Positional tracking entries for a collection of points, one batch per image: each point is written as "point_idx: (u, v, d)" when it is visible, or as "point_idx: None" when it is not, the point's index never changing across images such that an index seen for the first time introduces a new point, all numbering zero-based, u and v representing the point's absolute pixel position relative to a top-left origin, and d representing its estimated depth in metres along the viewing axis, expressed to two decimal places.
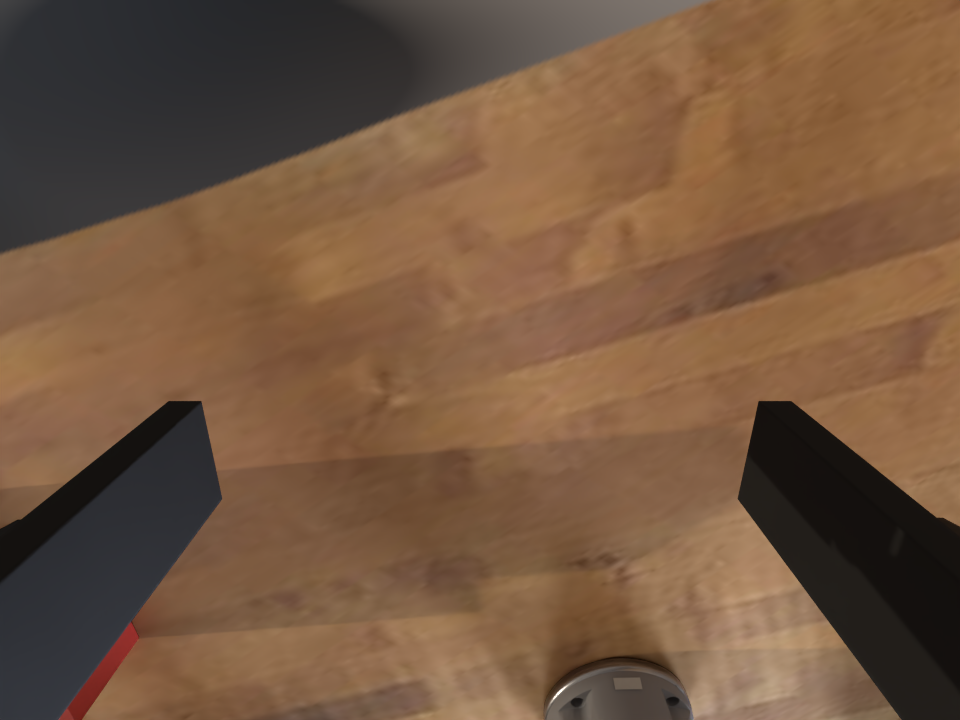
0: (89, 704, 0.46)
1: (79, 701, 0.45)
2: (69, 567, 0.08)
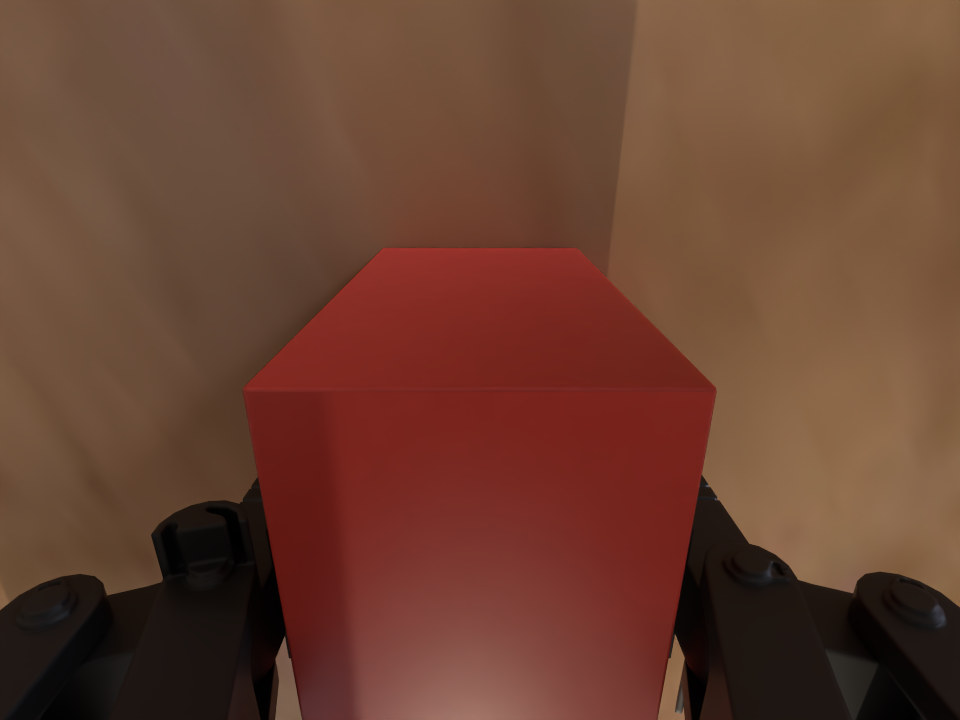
0: (646, 338, 0.07)
1: (563, 352, 0.07)
2: None
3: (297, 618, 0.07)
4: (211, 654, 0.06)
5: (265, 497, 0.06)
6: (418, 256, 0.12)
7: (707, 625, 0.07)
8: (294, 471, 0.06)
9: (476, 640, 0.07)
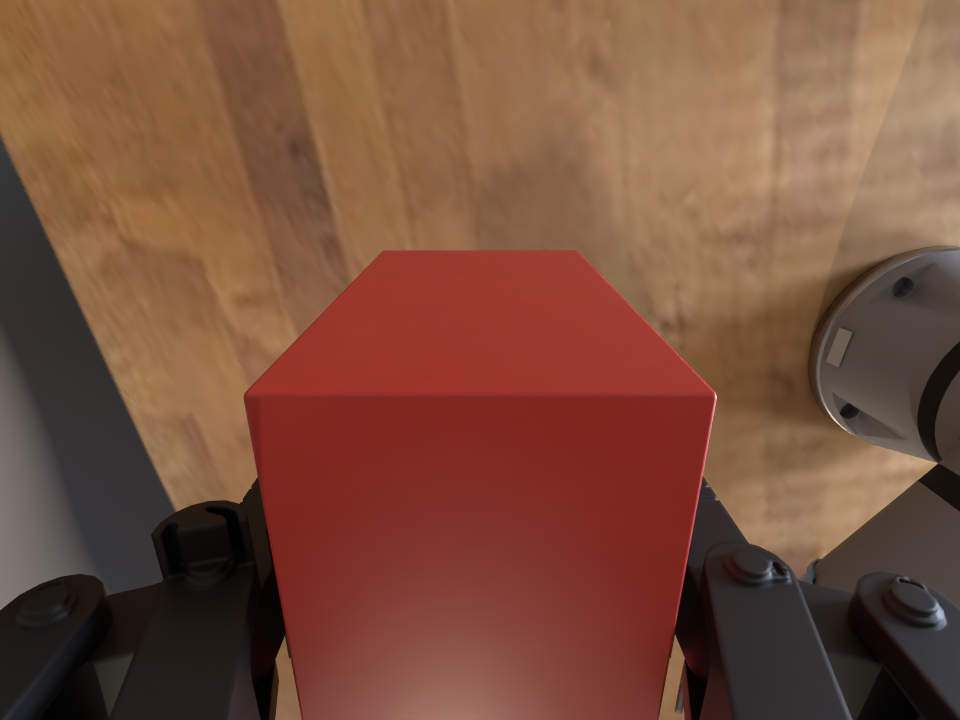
0: (647, 343, 0.07)
1: (563, 357, 0.07)
2: None
3: (298, 623, 0.07)
4: (211, 654, 0.06)
5: (265, 502, 0.06)
6: (418, 259, 0.13)
7: (707, 625, 0.07)
8: (295, 477, 0.06)
9: (476, 645, 0.07)
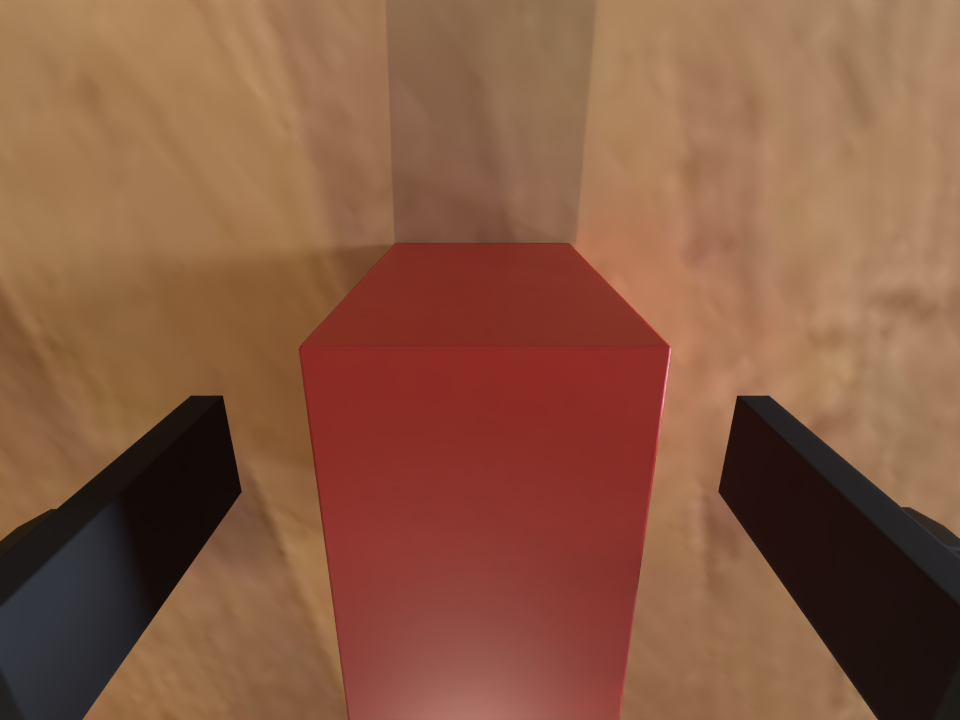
0: (621, 313, 0.09)
1: (552, 323, 0.08)
2: (104, 554, 0.09)
3: (336, 540, 0.08)
4: None
5: (312, 438, 0.08)
6: (427, 250, 0.14)
7: None
8: (337, 415, 0.07)
9: (481, 560, 0.08)
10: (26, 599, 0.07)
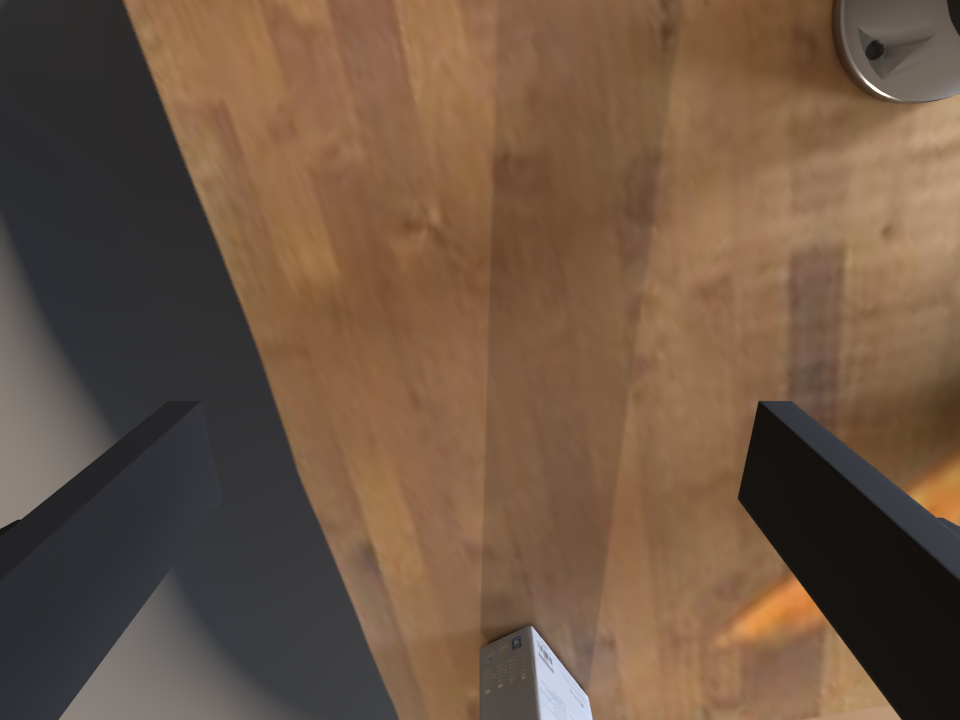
0: None
1: None
2: (69, 567, 0.08)
3: None
4: None
5: None
6: None
7: None
8: None
9: None
10: None
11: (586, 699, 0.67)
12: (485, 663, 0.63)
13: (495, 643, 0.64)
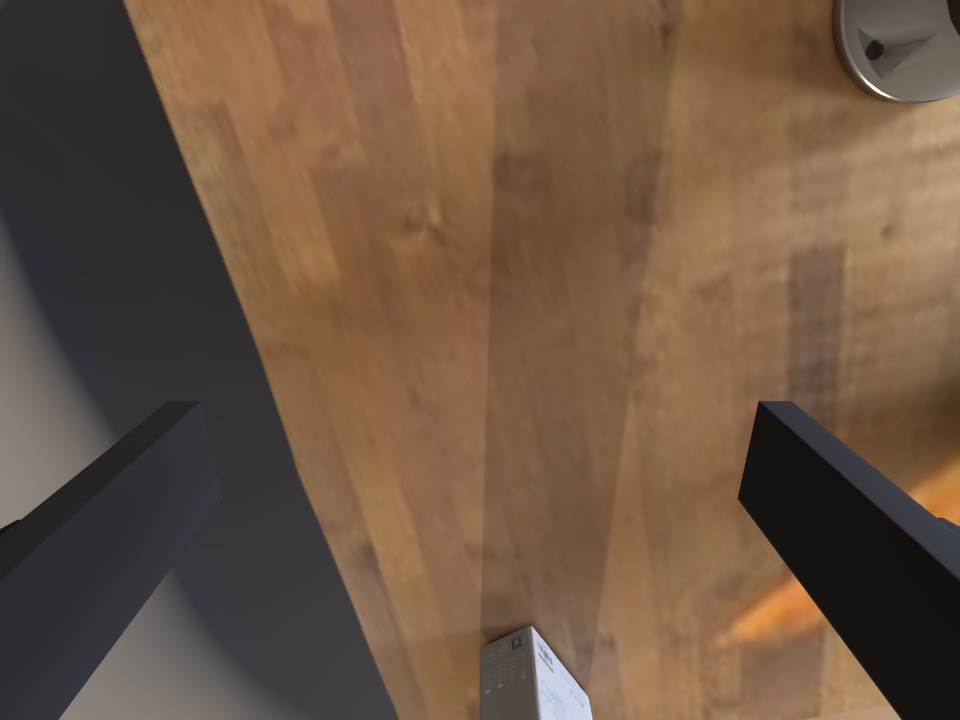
0: None
1: None
2: (69, 567, 0.08)
3: None
4: None
5: None
6: None
7: None
8: None
9: None
10: None
11: (586, 699, 0.67)
12: (485, 663, 0.63)
13: (495, 643, 0.64)
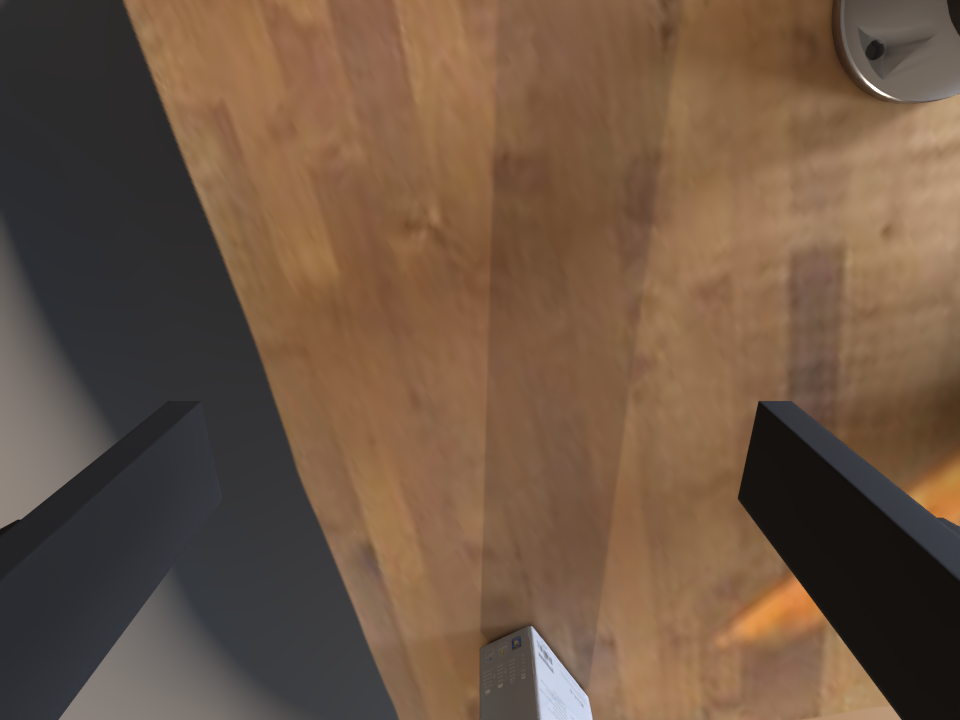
0: None
1: None
2: (69, 567, 0.08)
3: None
4: None
5: None
6: None
7: None
8: None
9: None
10: None
11: (586, 699, 0.67)
12: (485, 663, 0.63)
13: (495, 643, 0.64)
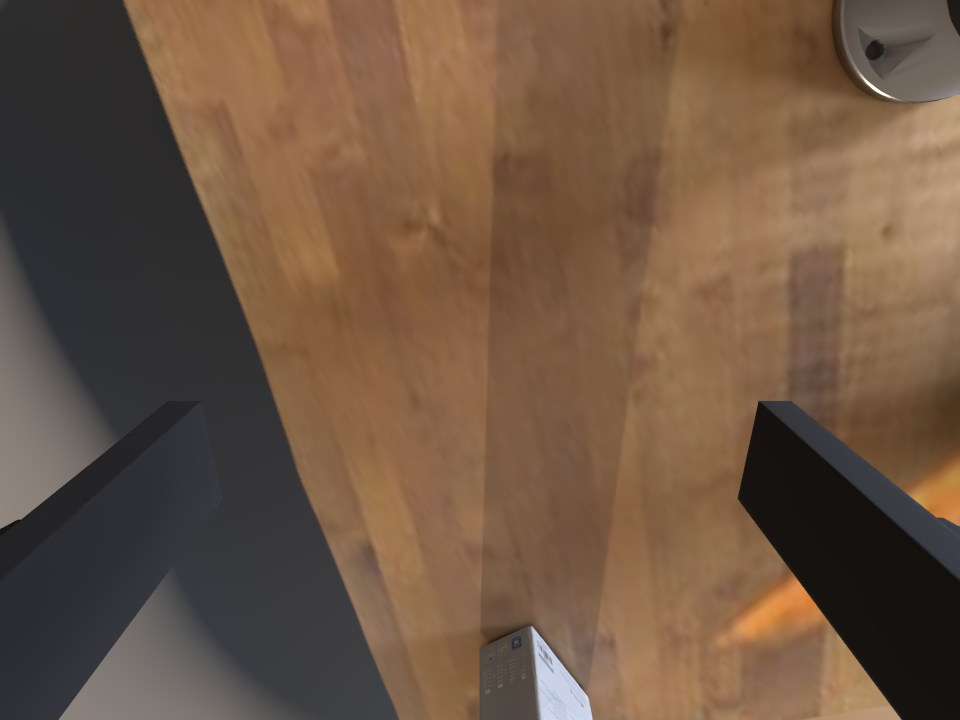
0: None
1: None
2: (69, 567, 0.08)
3: None
4: None
5: None
6: None
7: None
8: None
9: None
10: None
11: (586, 699, 0.67)
12: (485, 663, 0.63)
13: (495, 643, 0.64)
